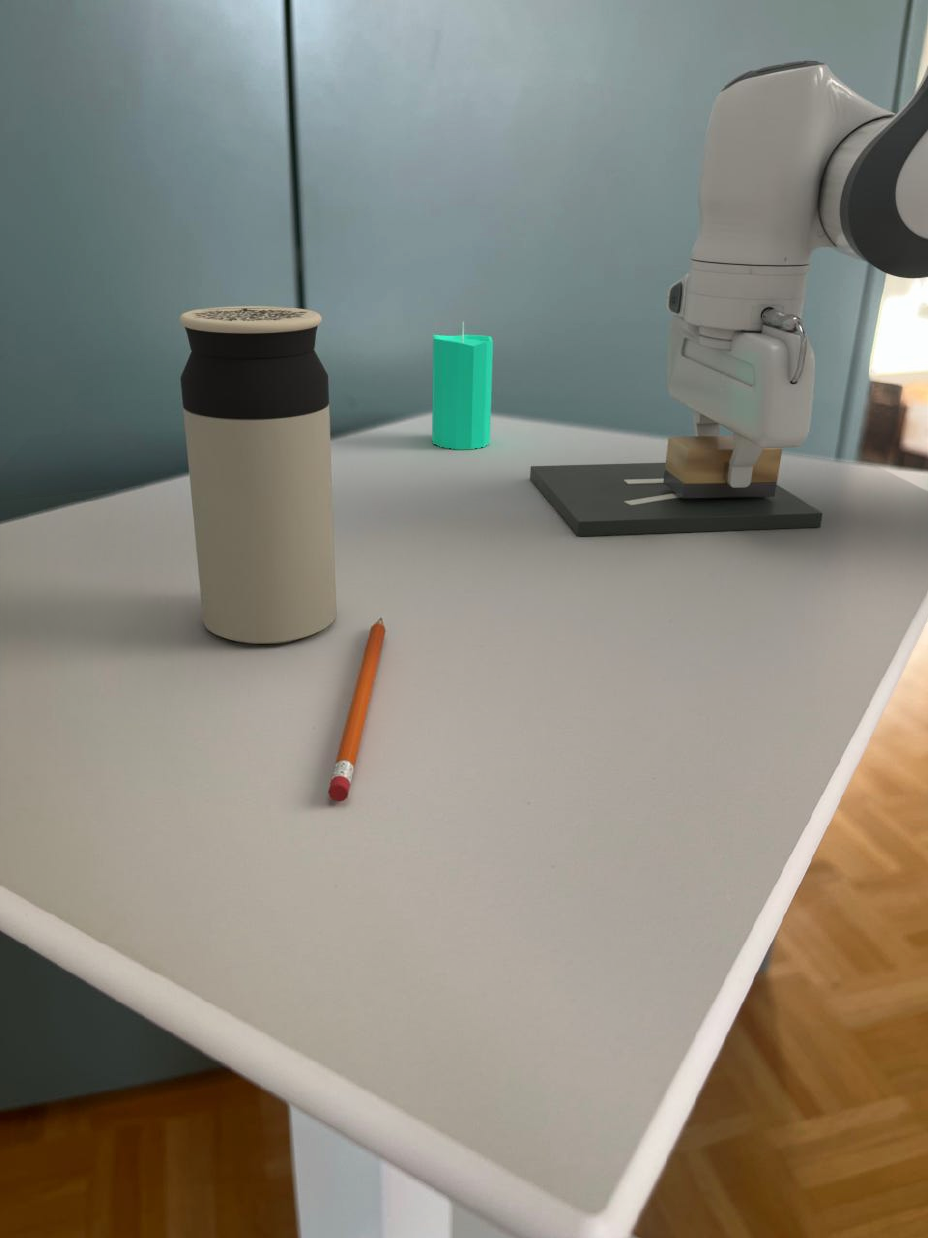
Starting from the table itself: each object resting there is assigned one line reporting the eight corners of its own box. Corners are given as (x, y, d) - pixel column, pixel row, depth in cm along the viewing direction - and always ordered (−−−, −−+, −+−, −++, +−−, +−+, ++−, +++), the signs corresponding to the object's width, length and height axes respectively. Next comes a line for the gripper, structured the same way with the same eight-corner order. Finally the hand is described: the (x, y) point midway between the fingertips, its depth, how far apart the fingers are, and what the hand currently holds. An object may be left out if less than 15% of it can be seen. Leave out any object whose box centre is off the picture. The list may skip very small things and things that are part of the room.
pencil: (328, 801, 43) (327, 784, 43) (374, 623, 60) (374, 610, 60) (348, 802, 43) (347, 785, 43) (388, 624, 60) (388, 610, 60)
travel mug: (340, 644, 58) (329, 323, 51) (199, 651, 57) (166, 323, 49) (333, 592, 65) (323, 304, 58) (208, 598, 64) (181, 304, 57)
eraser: (751, 481, 86) (758, 435, 84) (774, 496, 82) (782, 448, 80) (662, 482, 85) (668, 436, 83) (682, 498, 81) (688, 449, 79)
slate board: (737, 472, 94) (738, 459, 94) (820, 527, 80) (823, 512, 79) (529, 478, 91) (530, 465, 90) (577, 536, 76) (578, 520, 76)
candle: (426, 447, 100) (427, 324, 96) (437, 433, 106) (438, 316, 101) (485, 451, 100) (489, 326, 95) (493, 437, 105) (497, 318, 100)
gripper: (851, 318, 68) (817, 512, 74) (729, 287, 87) (709, 444, 92) (765, 318, 67) (737, 515, 73) (659, 287, 86) (644, 445, 91)
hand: (721, 475), depth 83 cm, fingers closed on eraser, 4 cm apart
